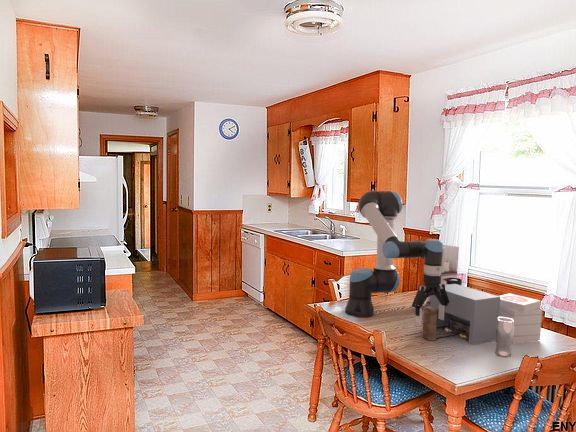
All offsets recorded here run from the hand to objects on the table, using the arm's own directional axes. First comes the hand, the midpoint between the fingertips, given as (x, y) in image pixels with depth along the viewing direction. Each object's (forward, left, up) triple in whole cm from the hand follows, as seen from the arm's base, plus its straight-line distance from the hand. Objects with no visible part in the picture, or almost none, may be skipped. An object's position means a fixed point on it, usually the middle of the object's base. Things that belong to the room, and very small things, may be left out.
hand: (429, 321), depth 205 cm
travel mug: (-21, +37, -9) cm, 44 cm away
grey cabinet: (0, +21, -8) cm, 23 cm away
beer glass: (+26, +16, -9) cm, 32 cm away
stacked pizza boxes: (+8, +41, -9) cm, 43 cm away
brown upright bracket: (0, +11, -8) cm, 14 cm away
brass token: (+4, +18, -9) cm, 21 cm away
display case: (-37, +45, -9) cm, 59 cm away
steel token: (-5, +18, -9) cm, 21 cm away
